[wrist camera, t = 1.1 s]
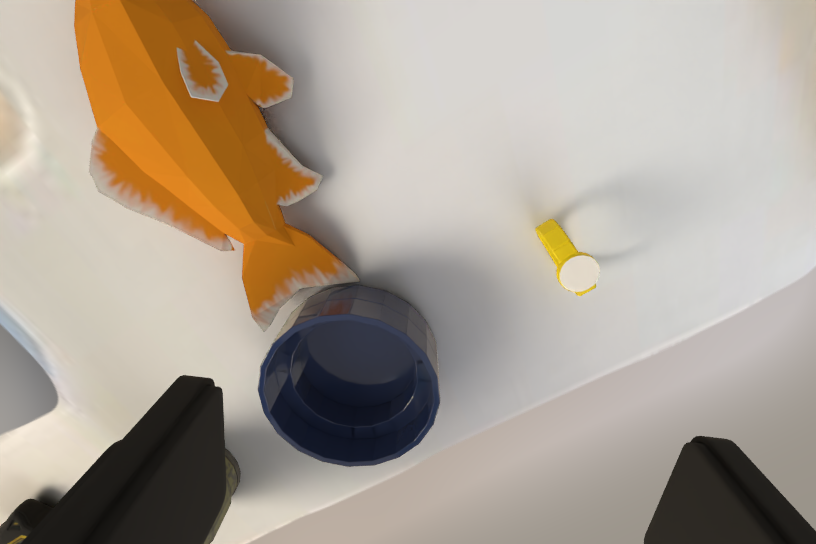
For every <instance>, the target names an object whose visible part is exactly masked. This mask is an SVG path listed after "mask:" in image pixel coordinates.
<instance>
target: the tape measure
mask: <svg viewBox="0 0 816 544" xmlns="http://www.w3.org/2000/svg"><path fill="white" fill-rule="evenodd" d="M52 509H53V508H52V507H50V506H47V505H45V504H43V503H41V502H39V501H37V500H34V499H28V500H26V501H24V502H23V503H22V504H20V505H19V506H18V507H17V508H16V509H15V510H14V512H13V513H12V514H11V515H10V516H9V518H8V519H7V521H6V522H4V523H3V524H2V525H1V526H0V544H21V542H22V541H23V540H24V539H25V538H26V537H27V536H28V535H29V534H30V533H31V532H32V530H33V529H34V528H35V527H36V526H37V525H38V524H39V523H40V522H41V521H42V520H43V518H44V517H45V516H46V515H47V514H48V513H49V512H50V511H51V510H52Z"/></svg>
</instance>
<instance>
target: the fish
mask: <svg viewBox="0 0 816 544" xmlns="http://www.w3.org/2000/svg"><path fill="white" fill-rule="evenodd" d="M74 27H75V34H76V41H77V48H78V55H79V62H80V69H81V72H82V76H83V79H84V83H85V86H86V90H87V93H88V97H89V100H90V103H91V107H92V110H93V114H94V117H95V121H96V124H97V130H96V133H95V135H94V138H93V140H92V148H91V156H90V165H89V173H90V175H91V176H92V178H93V180H94V182H95V185H96V187H97V189H98V191H99V192H100V193H102V194H104V195H105V196H107V197H109V198H110V199H112V200H114V201H115V202H117V203H119V204H120V205H122V206H124V207H125V208H127V209H130V210H132V211H135V212H137V213H140V214H142V215H145V216H148V217H150V218H153V219H155V220H157V221H159V222H162V223H164V224H166V225H168V226H170V227H173V228H175V229H177V230H179V231H182V232H184V233H186V234H188V235H190V236H192V237H194V238H196V239H198V240H200V241H202V242H204V243H206V244H208V245H210V246H212V247H214V248H216V249H218V250H220V251H232V250H234V248H233V246H232V244H231V242H230V240H229V239H228V237H227V235H228V236H230V237H232V238H234V239H236V240H238V241H240V242H241V243H243V244H244V250H243V270H242V279H243V283H244V287H245V291H246V295H247V299H248V302H249V306H250V310H251V314H252V317H253V319H254V320H255V321H256V323H257V324H258V325H259V326H260V328H261V329H262V330H263V332H264V331H265V330H266V329H267V328H268V327H269V326H270V325H271V323H272V321H273V319H274V318H275V316H276V314H277V312H278V311H279V309H280V308H281V307H282V306H283V305H284V304H285V303H286V302H287V301H288V300H289V299H290V298H291V297H292V296H293V295H294V294H295V293H296V292H297V291H298V290H299V289H301V288H307V287H316V286H324V285H332V284H341V283H350V282H358V281H359V279H358V276H357V275H356V274H355V273H354V272H353V271H352V270H351V269H350V268H348V267H347V266H346V265H345V264H344V263H343V262H342V261H340V260H339V259H338V258H337V257H336V256H334V255H333V254H332V253H331V252H330V251H328V250H327V249H326V248H325V247H324V246H322V245H321V244H320V243H319V242H317V241H316V240H315V239H314V238H313V237H311V236H310V235H309V234H307V233H305V232H303V231H301V230H299V229H297V228H294V227H292V226H290V225H288V224H286V223H285V221H284V218H283V215H282V212H281V209H280V206H279V205H282V206H289V205H291V204H294V203H296V202H298V201H300V200H302V199H303V198H305V197H307V196H308V195H310V194H312V193H313V192H315V191H316V190H317V188H318V186H319V184H320V182H321V180H322V178H323V176H322V175H320V174H318V173H316V172H314V171H312V170H310V169H308V168H306V167H304V166H302V165H301V164H300V163H299V162H298V161H297V159H296V158H295V157H294V156H293V155H292V154H291V153H290V152H289V151H288V150H287V149H286V147H285V146H284V145H283V144H282V143H281V142H280V141H279V140H278V139H277V138H276V136H275V135H274V134H273V133H272V132H271V131H270V130H269V129H268V127H267V125H266V123H265V121H264V119H263V116H262V114H261V112H260V110H259V108H258V106H257V104H258V105H259V106H260V107H263V108H267V107H270V106H272V105H275V104H277V103H280V102H282V101H285V100H287V99H290V98H292V88H293V78H292V77H291V76H289V75H288V74H287V73H285V72H284V71H283V70H281V69H280V68H279V67H277V66H276V65H274V64H273V63H272V62H270V61H269V60H268V59H266V58H265V57H264V56H262V55H260V54H252V53H244V52H236V51H231V50H230V48H229V47H228V45H227V44H226V42H225V40H224V39H223V37H222V36H221V34H220V33H219V31H218V30H217V28H216V27H215V25H214V24H213V22H212V21H211V19H210V18H209V16H208V15H207V14H206V13H205V12H204V11H203V10H202V9H201V8H199V7H198V6H197V5H196V4H195V3H194V2H193V1H192V0H76V1H75V22H74ZM256 103H257V104H256Z"/></svg>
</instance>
